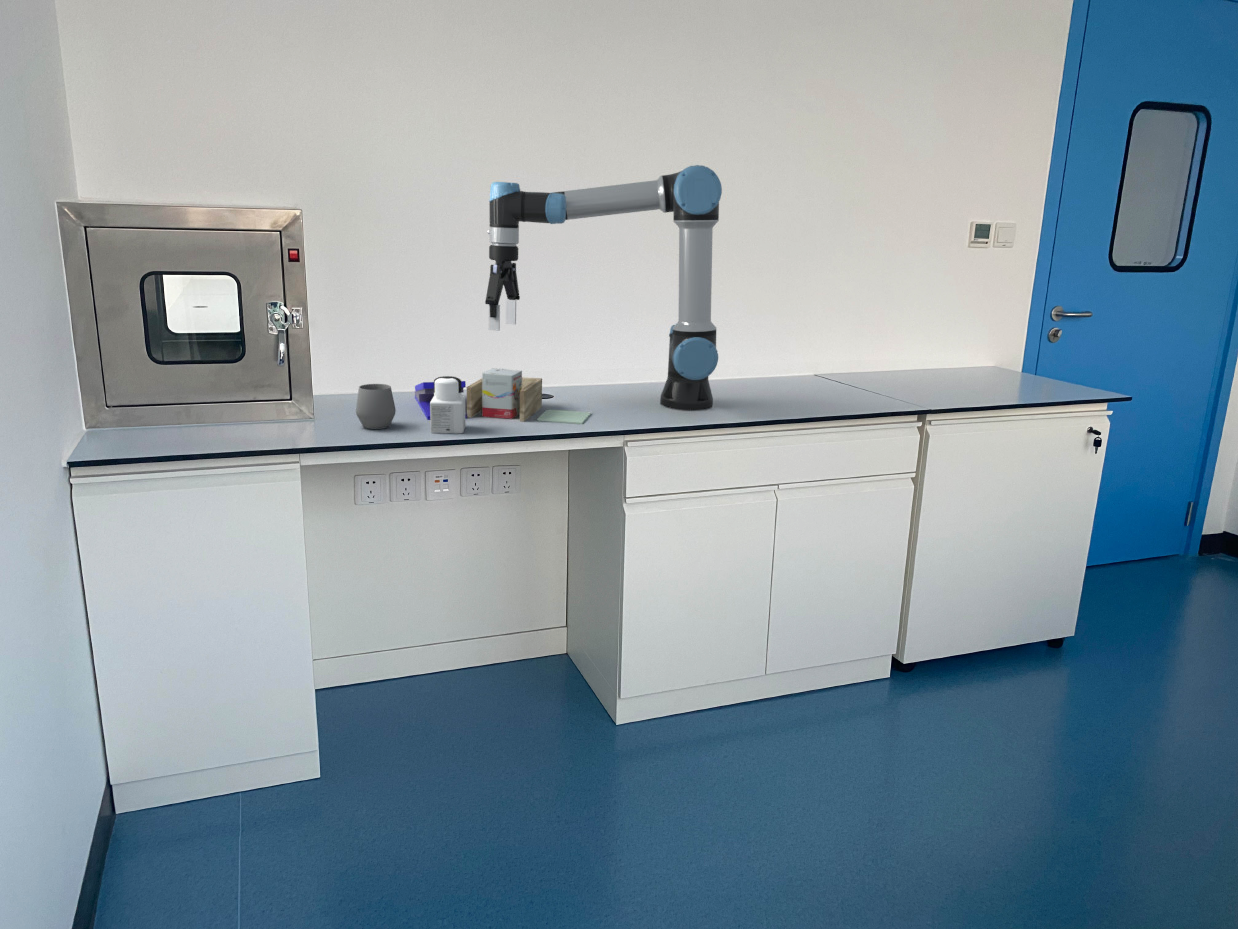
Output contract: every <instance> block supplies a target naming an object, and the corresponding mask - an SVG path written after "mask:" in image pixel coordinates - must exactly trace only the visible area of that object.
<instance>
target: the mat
mask: <svg viewBox="0 0 1238 929" xmlns="http://www.w3.org/2000/svg"><path fill="white" fill-rule="evenodd" d="M591 415H592V412H589V411H588V412H587V411H574V410H559V409H547V410H545V412H543V413H542V414H541V415H540V416H538V418H537V419H536V421H538V422H549V423H560V424H562V423H563V424H574V425H575V424H577V425H583V423H585V421H586V420H587V419H588V418H589V417H590V416H591Z"/></svg>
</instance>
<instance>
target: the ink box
mask: <svg viewBox="0 0 1238 929" xmlns="http://www.w3.org/2000/svg"><path fill="white" fill-rule="evenodd" d="M522 377H523V370H517V369H509V368H508V369H507V368H501V367H500V368H493V367H492V368H490V369H487V370H485V371H484V372H482V376H481V379H482V411H481V416H482V417H483V418H492V419H493V418H496V419H505V420H506V419H510V420H513V419H515V418H516V417H517V416H519V415H520V390H522Z"/></svg>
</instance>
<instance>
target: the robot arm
mask: <svg viewBox="0 0 1238 929" xmlns="http://www.w3.org/2000/svg"><path fill="white" fill-rule="evenodd" d="M520 187H521V186H520V184H519V183H518V182H506V181H494V182H492V183H491V185H490V191H489V199H488V200H489V230H487V234H488V235H489V243H490V245H489V247H488V258H489V260H491V261H495V263H494V264H491V265H490V266H489V268H490V272H489V278H488V284H487V285H488V286H487V291H486V294H485V295H486V296H485V302H484V304H485V305H488V330H489V331H500V328H501V324H500V323H501V304H499V302H500V299H501V296H502V293H503V288H504V291H505V294H506V297H507V299H505V325H515V326H516V324H517V301H519V300H520V298H521V296H520V290H519V289H520V288H519V282H518V275H517V263H516V261H518V260H519V247H518V246H517V245H518V244H520V238H519V237H520V231H519V230H520V222H523V223H527V222H528V223H536V224H537V223H538V224H550V225H556V224H557V225H558V224H559V225H560V224H564V223H565V221H569V220H576V219H586V218H595V217H605V216H613V215H622V214H630V213H639V212H640V213H641V212H647V211H657V210H660V211H661V212H663V213H673V223H674V224H675V225H676V226H677V227H678V229H679V230H678V233H679V234H678V321H677V323H675V324H672V325H671V326H670V330H669V334H668V335H669V336H668V337H669V343H668V345H669V347H668V365H667V367H668V368H667V377H666V381H665V383H664V386H663V389H662V391H661V394H660V403H659V404H660V406H663V407H665V408H668V409H673V410H678V411H679V410H681V411H703V410H704V411H705V410H709V409H711V408H712V407H713V406H714V404H713V403H714V398H713V393H712V389H711V385H710V381H709V377H710V375H712V374H713V373H714V371H715V370H716V368H717V366H718V362H719V353H718V350H717V327H716V326H715V324H714V323H713V322H712V282H713V281H712V276H713V275H712V274H713V271H712V270H713V269H712V268H713V232H714V231H713V230H714V227H715V225H716V224H717V223H718V222H719V221H720V219H719V218H720V217H719V215H720V213H719V212H720V201H721V199H722V198H721V197H722V194H723V192H722V191H723V190H722V189H723V187H722V183H721V181H720V178H719V176H718V175H717V173H716V171H714V170H713V169H711V168H710V167H708V166H706V165H699V164H695V165H690V166H687V167H685V168H683V170H680V171H678V172H674V173H671V174H664V175H660V176H659V177H658V179H655V180H654V179H653V180H647V181H646V180H645V181H639V182H637V181H636V182H632V183H631V182H630V183H622V184H616V185H615V184H614V185H613V184H612V185H605V186H596V187H595V186H594V187H588V188H579V189H573V190H572V189H571V190H565V191H553V192H545V191H542V192H541V191H539V192H538V191H523V190H521V188H520Z"/></svg>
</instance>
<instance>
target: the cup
mask: <svg viewBox="0 0 1238 929" xmlns="http://www.w3.org/2000/svg"><path fill="white" fill-rule="evenodd" d="M392 390H393V389H392V387H391V385H389V384H385V383H367V384H362V385H359V386H358V391H357V398H356V408H355V413H356V417H357V418H358V420H359V421H360V424H361V426H363V427H364V428H366V429H369V430H380V429H381V430H382V429H385V428H388V427H390V426H391V424H392V422H393V420H394V418H395V415H396V411H397V410H396V404H395V400H394V396H393V391H392Z"/></svg>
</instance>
